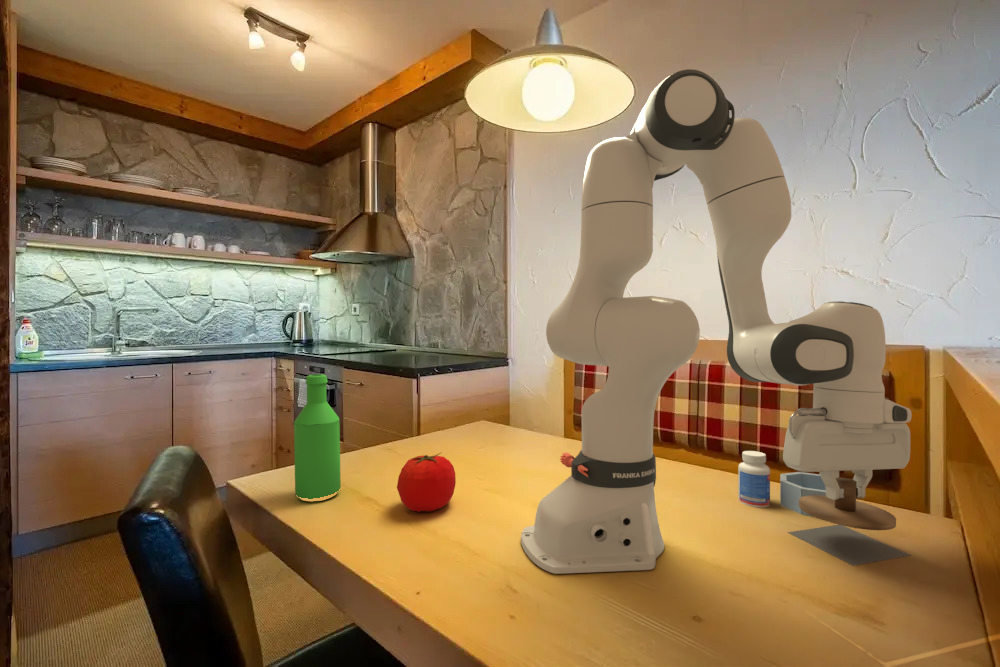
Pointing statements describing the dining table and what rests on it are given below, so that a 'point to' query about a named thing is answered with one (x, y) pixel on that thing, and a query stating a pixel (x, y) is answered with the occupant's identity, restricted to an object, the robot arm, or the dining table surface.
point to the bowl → (799, 489)
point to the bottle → (317, 444)
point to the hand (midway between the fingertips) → (845, 498)
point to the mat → (848, 544)
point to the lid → (847, 509)
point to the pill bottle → (754, 480)
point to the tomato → (426, 483)
